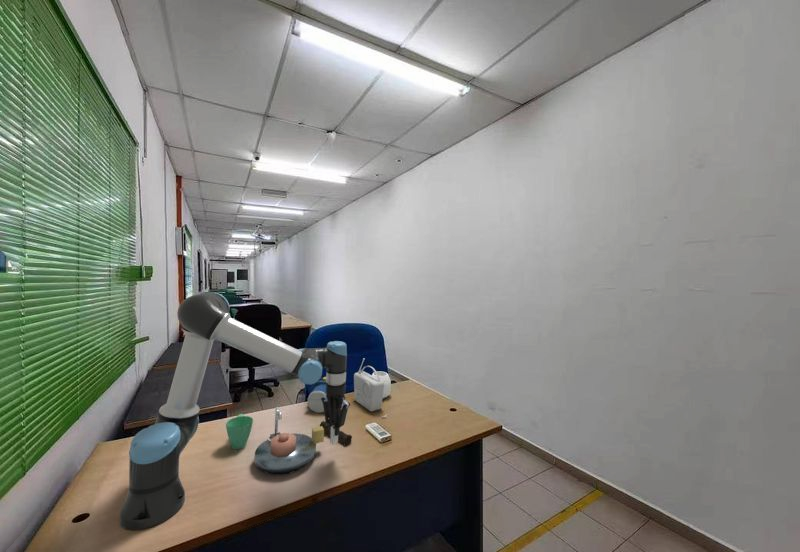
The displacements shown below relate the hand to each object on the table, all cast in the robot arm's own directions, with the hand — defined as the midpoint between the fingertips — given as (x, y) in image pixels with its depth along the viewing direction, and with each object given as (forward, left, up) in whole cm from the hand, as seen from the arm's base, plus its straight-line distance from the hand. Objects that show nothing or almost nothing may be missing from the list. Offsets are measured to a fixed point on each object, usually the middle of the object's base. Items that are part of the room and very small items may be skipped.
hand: (334, 442), depth 121 cm
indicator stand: (-4, +28, -6) cm, 29 cm away
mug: (-14, +40, -7) cm, 42 cm away
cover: (-12, +15, -2) cm, 19 cm away
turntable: (-10, +15, -4) cm, 18 cm away
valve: (+30, +36, -7) cm, 47 cm away
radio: (+46, +19, -7) cm, 51 cm away
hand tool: (+12, +11, -7) cm, 17 cm away
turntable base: (-11, +15, -6) cm, 19 cm away
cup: (+60, +20, -7) cm, 64 cm away
